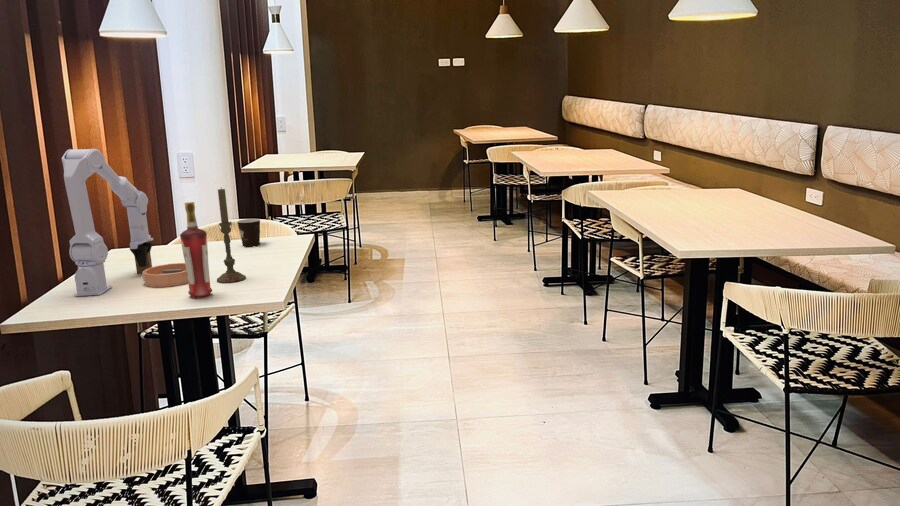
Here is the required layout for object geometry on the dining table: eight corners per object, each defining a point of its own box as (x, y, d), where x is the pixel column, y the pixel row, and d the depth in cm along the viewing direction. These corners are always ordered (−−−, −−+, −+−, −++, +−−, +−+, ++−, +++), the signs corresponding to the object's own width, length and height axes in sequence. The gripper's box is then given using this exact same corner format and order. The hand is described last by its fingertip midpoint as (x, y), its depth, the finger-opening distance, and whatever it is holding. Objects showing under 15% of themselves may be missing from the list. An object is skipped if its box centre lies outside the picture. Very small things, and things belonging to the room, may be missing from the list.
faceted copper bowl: (189, 285, 229) (187, 273, 228) (137, 288, 228) (135, 276, 227) (202, 273, 244) (201, 261, 243) (154, 276, 243) (152, 264, 243)
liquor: (186, 294, 218) (175, 202, 212) (212, 291, 221) (201, 200, 215) (188, 300, 212) (176, 205, 206) (215, 296, 215) (203, 203, 209)
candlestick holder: (216, 284, 229) (205, 189, 222) (217, 277, 237) (206, 186, 231) (246, 281, 231) (236, 187, 225) (246, 274, 240) (236, 184, 233)
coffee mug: (239, 244, 290) (237, 219, 288) (261, 242, 292) (259, 217, 290) (240, 250, 279) (237, 224, 277) (263, 247, 282) (261, 222, 279)
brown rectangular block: (150, 273, 248) (147, 253, 246) (137, 274, 248) (134, 254, 246) (152, 271, 250) (150, 251, 249) (139, 272, 250) (136, 252, 249)
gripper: (143, 229, 239) (148, 269, 242) (157, 221, 253) (162, 259, 256) (121, 230, 238) (127, 270, 241) (136, 222, 252) (142, 261, 255)
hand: (143, 265), depth 248 cm, fingers closed on brown rectangular block, 2 cm apart
